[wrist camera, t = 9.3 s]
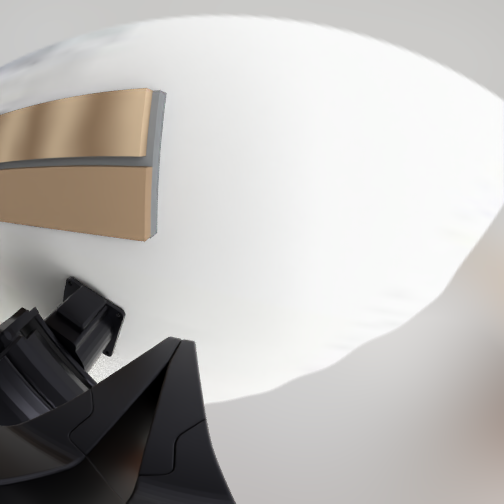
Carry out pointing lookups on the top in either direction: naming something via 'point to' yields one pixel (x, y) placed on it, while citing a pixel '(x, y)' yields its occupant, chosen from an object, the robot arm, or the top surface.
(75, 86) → the top surface
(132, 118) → the plank
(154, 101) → the floor panel
